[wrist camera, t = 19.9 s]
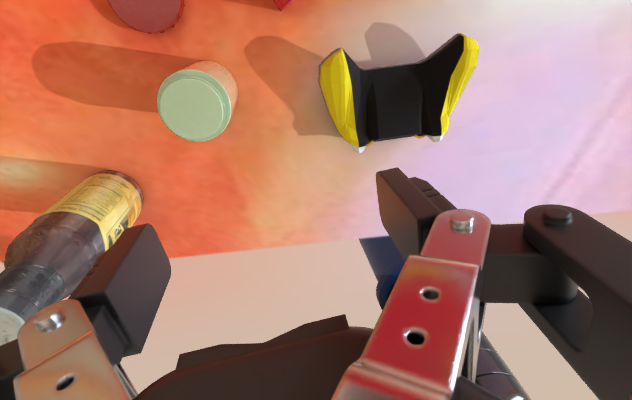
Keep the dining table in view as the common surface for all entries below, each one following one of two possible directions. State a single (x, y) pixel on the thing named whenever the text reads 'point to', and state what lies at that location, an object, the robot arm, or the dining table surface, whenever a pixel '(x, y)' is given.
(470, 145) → the dining table surface
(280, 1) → the food packaging
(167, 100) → the jar
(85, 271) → the sauce bottle
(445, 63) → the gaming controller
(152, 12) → the lid
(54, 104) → the dining table surface
